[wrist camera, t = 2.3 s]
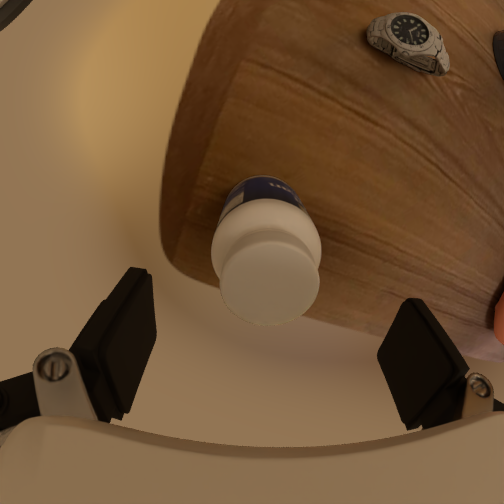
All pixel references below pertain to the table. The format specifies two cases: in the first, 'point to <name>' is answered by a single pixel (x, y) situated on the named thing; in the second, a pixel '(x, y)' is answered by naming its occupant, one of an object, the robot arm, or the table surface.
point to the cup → (499, 50)
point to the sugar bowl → (499, 320)
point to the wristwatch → (409, 42)
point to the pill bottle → (266, 252)
